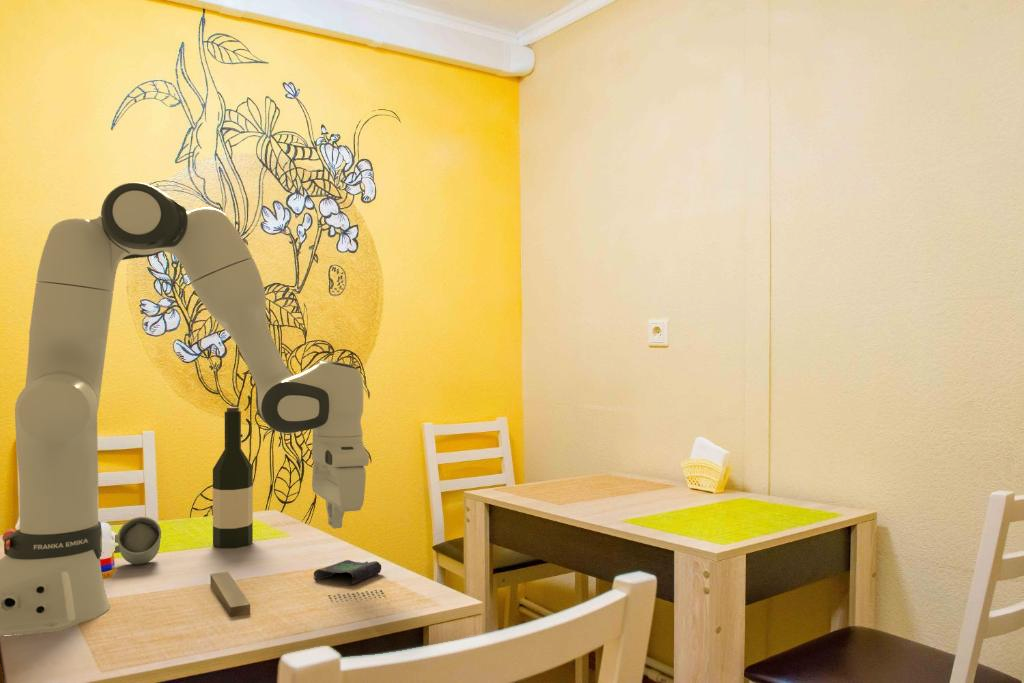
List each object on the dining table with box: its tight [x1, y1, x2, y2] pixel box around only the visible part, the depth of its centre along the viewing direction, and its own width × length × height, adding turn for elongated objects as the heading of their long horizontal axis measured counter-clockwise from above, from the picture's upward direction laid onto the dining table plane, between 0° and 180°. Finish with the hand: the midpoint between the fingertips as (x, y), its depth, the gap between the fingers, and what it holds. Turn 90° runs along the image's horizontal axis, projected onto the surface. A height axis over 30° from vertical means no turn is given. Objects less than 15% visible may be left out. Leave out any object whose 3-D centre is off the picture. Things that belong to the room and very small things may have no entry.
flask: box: [313, 559, 382, 587], centre depth 148 cm, size 9×3×11 cm
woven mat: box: [328, 589, 387, 604], centre depth 133 cm, size 10×11×2 cm
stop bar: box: [210, 571, 251, 618], centre depth 135 cm, size 3×20×3 cm, turn 29°
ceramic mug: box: [113, 516, 162, 566], centre depth 158 cm, size 11×8×8 cm
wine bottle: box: [212, 406, 254, 549], centre depth 175 cm, size 8×8×30 cm
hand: (334, 526), depth 144 cm, fingers closed
